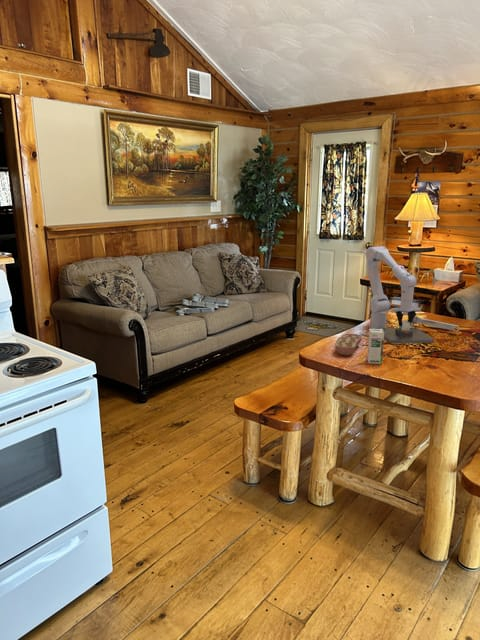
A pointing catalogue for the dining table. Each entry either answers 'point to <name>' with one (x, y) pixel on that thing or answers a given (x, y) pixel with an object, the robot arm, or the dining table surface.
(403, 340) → the stand
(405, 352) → the dining table surface
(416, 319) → the wrench
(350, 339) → the brown rounded block
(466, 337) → the dining table surface
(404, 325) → the grey block
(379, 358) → the syrup box
